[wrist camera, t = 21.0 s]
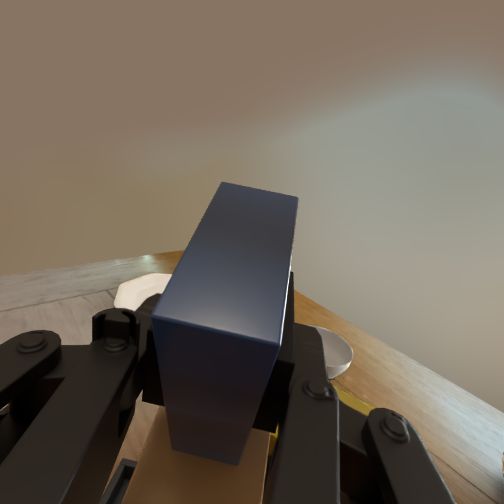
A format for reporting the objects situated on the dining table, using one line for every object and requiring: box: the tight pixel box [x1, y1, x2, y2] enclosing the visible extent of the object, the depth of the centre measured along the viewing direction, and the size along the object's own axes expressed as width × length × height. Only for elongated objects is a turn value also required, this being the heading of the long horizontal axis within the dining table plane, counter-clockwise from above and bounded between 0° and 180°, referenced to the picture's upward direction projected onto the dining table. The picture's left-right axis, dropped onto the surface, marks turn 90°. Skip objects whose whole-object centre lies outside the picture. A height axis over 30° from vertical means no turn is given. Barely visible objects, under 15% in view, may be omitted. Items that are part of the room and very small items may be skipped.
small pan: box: [307, 325, 353, 379], centre depth 54 cm, size 11×18×4 cm, turn 65°
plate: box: [113, 273, 172, 311], centre depth 62 cm, size 20×20×2 cm
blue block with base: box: [121, 182, 298, 504], centre depth 13 cm, size 11×5×13 cm, turn 173°
